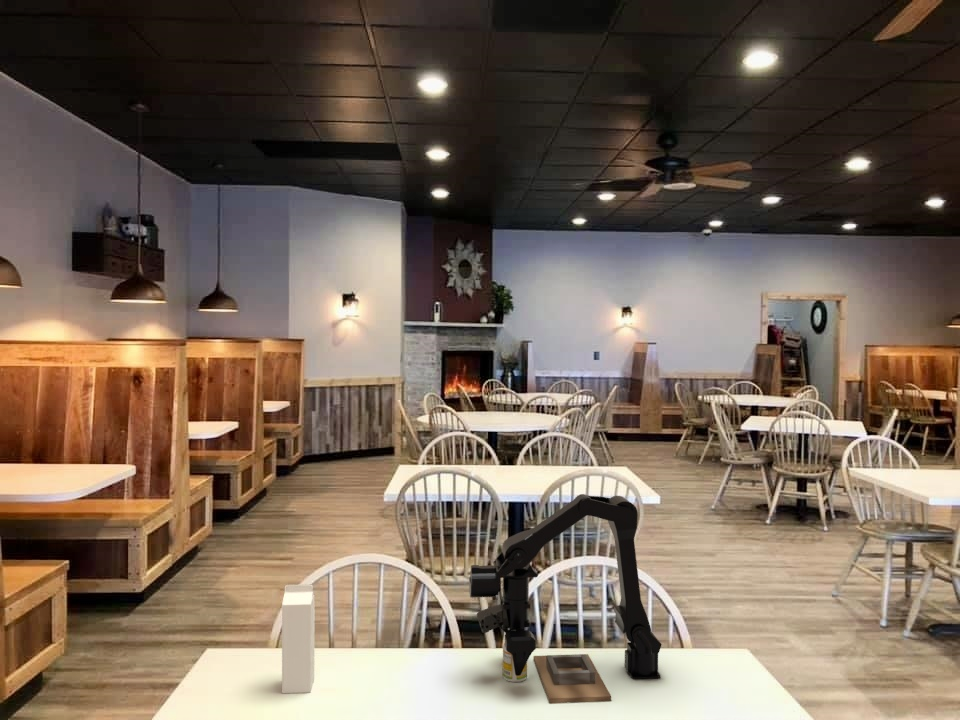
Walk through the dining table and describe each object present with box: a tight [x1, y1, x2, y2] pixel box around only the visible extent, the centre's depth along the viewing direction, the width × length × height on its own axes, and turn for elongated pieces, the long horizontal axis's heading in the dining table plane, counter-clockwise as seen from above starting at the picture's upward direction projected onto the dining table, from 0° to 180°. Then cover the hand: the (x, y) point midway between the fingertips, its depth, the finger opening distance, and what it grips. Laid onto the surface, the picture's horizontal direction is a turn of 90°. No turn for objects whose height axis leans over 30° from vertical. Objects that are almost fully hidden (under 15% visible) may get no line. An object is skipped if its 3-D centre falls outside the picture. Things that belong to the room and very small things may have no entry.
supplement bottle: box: [502, 642, 528, 683], centre depth 157 cm, size 5×5×10 cm
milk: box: [281, 584, 316, 694], centre depth 152 cm, size 6×6×22 cm
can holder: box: [532, 653, 612, 704], centre depth 157 cm, size 13×20×4 cm, turn 5°
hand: (515, 665), depth 158 cm, fingers open, 9 cm apart
